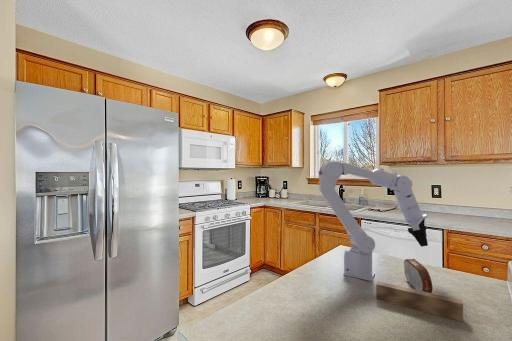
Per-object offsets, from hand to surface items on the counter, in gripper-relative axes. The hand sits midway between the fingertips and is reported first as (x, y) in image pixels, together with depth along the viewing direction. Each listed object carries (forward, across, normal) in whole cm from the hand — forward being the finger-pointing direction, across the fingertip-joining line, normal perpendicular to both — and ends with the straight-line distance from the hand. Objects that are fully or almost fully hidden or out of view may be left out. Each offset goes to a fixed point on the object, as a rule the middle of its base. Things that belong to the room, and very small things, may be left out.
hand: (423, 241), depth 89 cm
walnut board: (+6, -28, +5) cm, 29 cm away
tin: (+9, -14, +6) cm, 18 cm away
